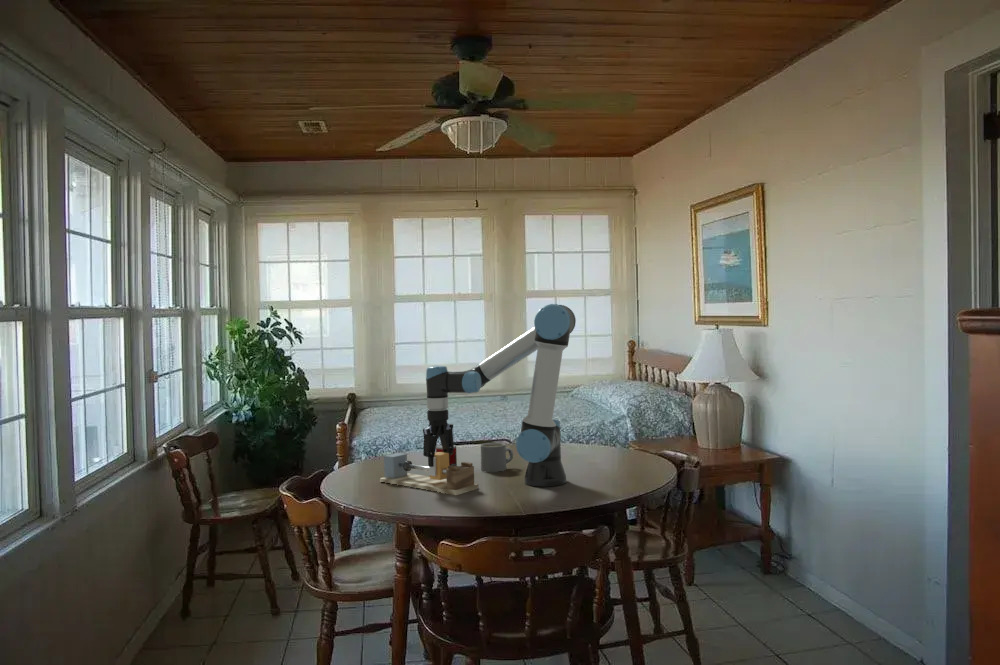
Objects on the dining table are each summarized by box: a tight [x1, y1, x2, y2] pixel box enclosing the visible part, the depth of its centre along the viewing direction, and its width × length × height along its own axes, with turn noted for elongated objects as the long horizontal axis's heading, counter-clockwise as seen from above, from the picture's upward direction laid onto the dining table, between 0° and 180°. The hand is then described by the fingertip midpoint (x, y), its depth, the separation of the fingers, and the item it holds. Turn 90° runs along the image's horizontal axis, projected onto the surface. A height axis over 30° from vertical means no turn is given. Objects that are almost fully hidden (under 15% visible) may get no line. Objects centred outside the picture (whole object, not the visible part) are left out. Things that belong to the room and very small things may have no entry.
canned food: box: [435, 444, 458, 466], centre depth 275 cm, size 8×8×11 cm
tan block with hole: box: [429, 451, 449, 480], centre depth 253 cm, size 5×5×9 cm
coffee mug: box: [480, 442, 514, 473], centre depth 281 cm, size 13×10×10 cm
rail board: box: [379, 461, 479, 496], centre depth 257 cm, size 38×12×9 cm, turn 52°
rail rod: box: [399, 460, 448, 474], centre depth 257 cm, size 29×4×4 cm, turn 52°
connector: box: [383, 452, 408, 479], centre depth 267 cm, size 5×7×8 cm
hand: (439, 473), depth 253 cm, fingers open, 6 cm apart
